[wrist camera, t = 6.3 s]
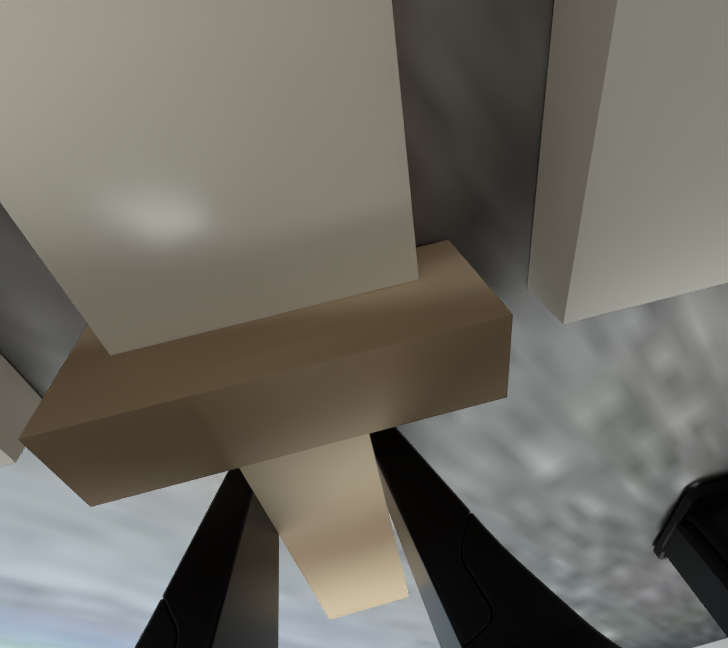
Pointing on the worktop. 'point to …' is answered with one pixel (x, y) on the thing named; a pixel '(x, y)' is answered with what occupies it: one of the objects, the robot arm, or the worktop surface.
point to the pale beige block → (205, 157)
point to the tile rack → (604, 167)
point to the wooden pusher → (286, 413)
